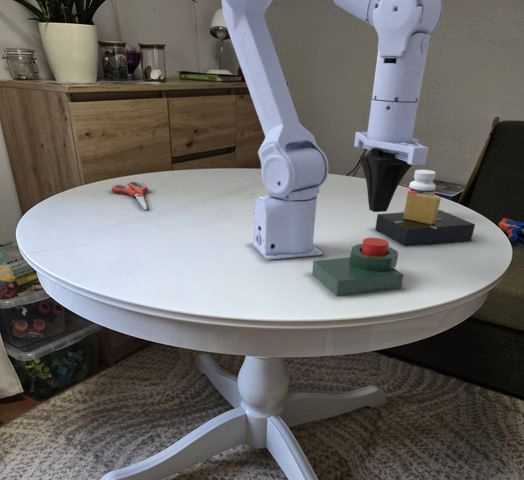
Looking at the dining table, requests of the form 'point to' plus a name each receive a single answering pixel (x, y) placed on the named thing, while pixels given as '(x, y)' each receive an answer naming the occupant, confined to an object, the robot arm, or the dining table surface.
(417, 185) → the pill bottle
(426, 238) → the dark gray flat block
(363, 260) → the button box
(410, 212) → the tan wooden brick
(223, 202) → the dining table surface
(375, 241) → the button
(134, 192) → the scissors
